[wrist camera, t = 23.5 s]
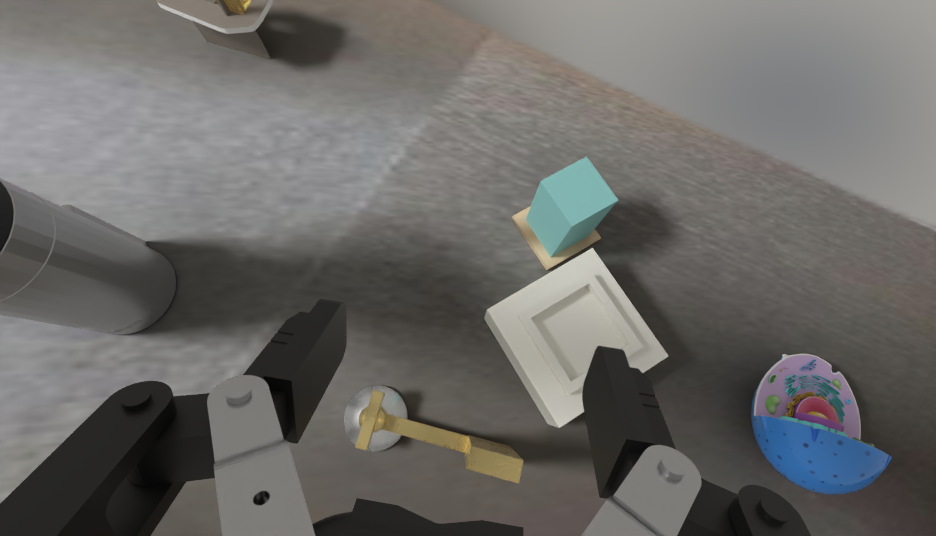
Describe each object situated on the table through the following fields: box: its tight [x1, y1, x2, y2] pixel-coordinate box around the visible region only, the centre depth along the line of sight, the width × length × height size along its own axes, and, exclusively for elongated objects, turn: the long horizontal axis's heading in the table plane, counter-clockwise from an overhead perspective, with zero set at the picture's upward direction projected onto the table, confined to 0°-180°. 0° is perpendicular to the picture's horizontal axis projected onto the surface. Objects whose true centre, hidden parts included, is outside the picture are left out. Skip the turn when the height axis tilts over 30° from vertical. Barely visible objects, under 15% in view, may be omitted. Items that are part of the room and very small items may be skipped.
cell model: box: [751, 354, 892, 495], centre depth 38 cm, size 10×12×10 cm
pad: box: [512, 206, 601, 270], centre depth 48 cm, size 7×7×1 cm
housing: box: [484, 248, 668, 428], centre depth 41 cm, size 12×12×6 cm
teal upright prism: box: [526, 157, 618, 257], centre depth 43 cm, size 5×5×9 cm
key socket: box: [344, 386, 408, 452], centre depth 42 cm, size 6×6×1 cm
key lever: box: [355, 390, 524, 483], centre depth 37 cm, size 14×5×9 cm, turn 75°
